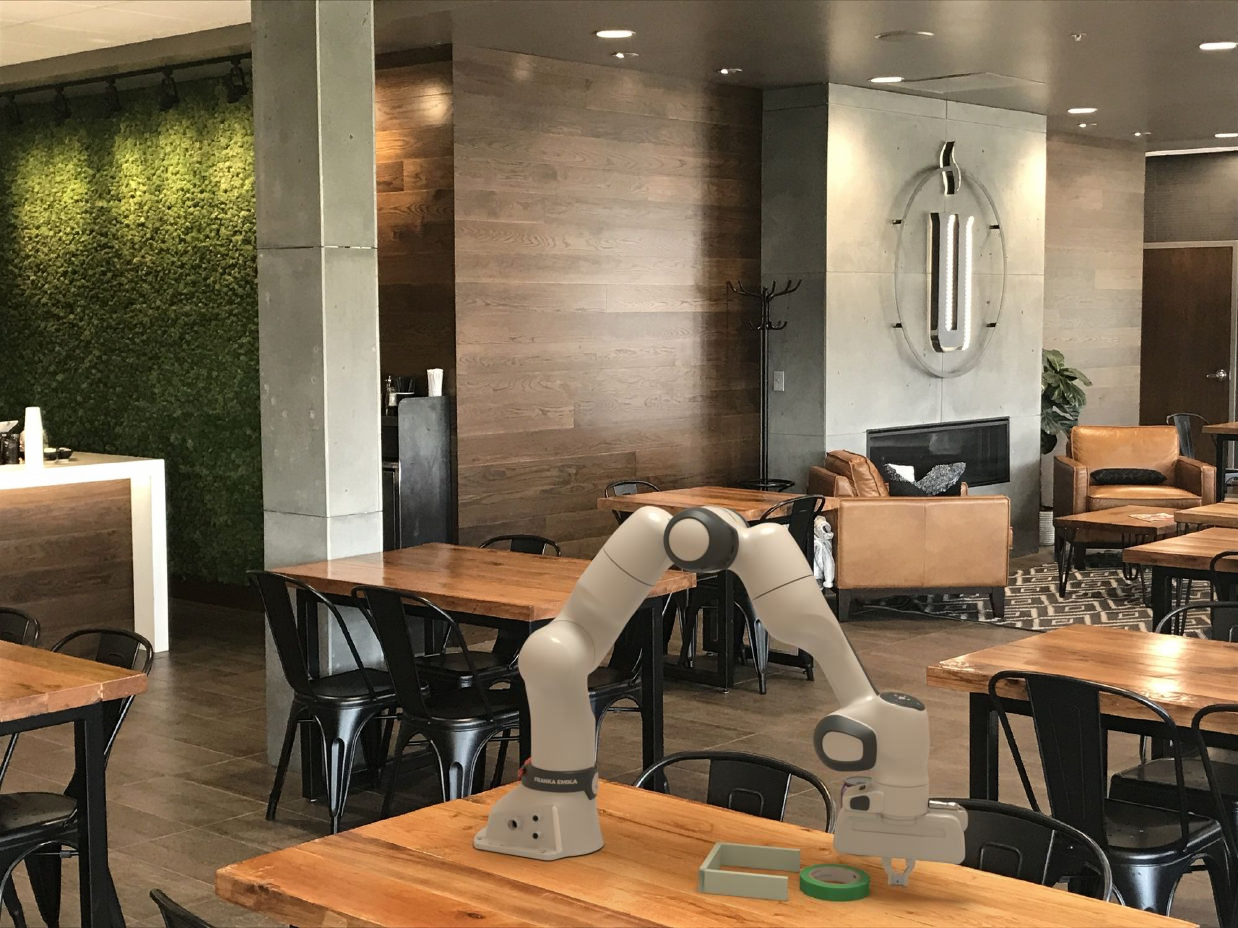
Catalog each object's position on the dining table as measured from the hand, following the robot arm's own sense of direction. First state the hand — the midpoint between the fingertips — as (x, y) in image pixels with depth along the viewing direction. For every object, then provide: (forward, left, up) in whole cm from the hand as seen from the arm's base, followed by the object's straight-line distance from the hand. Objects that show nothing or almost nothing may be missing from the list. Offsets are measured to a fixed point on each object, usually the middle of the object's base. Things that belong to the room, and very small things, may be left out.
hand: (898, 884), depth 228 cm
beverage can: (-8, +22, -2) cm, 23 cm away
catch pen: (-23, 0, -2) cm, 23 cm away
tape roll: (-10, 0, -2) cm, 10 cm away
